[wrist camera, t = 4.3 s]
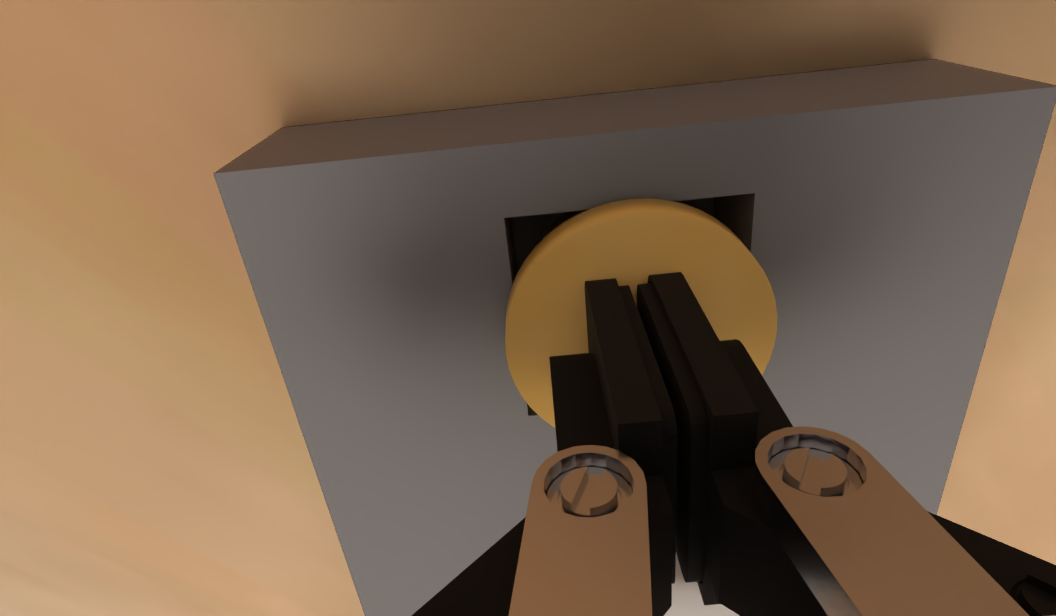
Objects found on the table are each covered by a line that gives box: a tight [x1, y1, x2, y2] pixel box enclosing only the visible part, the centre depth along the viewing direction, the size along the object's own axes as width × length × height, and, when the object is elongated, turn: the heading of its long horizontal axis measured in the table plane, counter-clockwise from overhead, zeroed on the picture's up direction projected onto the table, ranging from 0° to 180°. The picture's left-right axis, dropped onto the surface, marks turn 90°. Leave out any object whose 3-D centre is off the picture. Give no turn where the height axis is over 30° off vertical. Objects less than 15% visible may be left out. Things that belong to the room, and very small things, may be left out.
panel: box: [213, 59, 1056, 616], centre depth 17 cm, size 14×21×4 cm, turn 6°
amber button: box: [505, 198, 777, 428], centre depth 13 cm, size 5×5×3 cm
